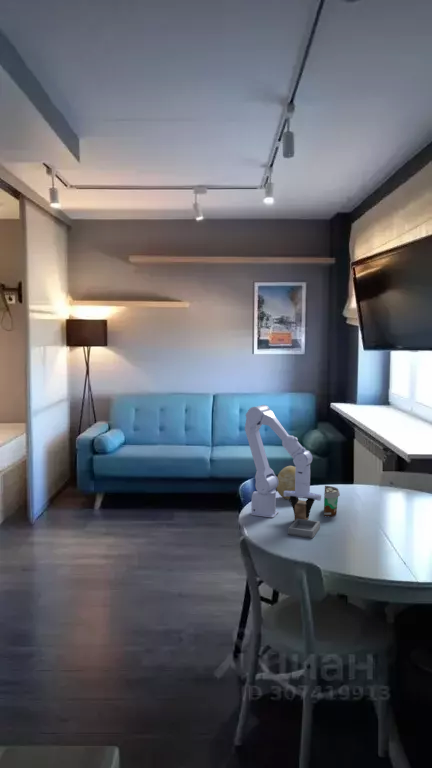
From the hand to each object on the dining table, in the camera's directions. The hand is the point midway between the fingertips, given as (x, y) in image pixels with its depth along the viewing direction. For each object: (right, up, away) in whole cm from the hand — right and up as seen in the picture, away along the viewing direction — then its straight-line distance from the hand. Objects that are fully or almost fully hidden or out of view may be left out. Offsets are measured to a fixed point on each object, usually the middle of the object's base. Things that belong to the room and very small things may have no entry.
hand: (301, 516), depth 224 cm
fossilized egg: (-1, 0, +30) cm, 30 cm away
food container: (+14, -1, +10) cm, 17 cm away
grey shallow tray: (-1, -3, -12) cm, 13 cm away
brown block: (0, -2, 0) cm, 2 cm away
